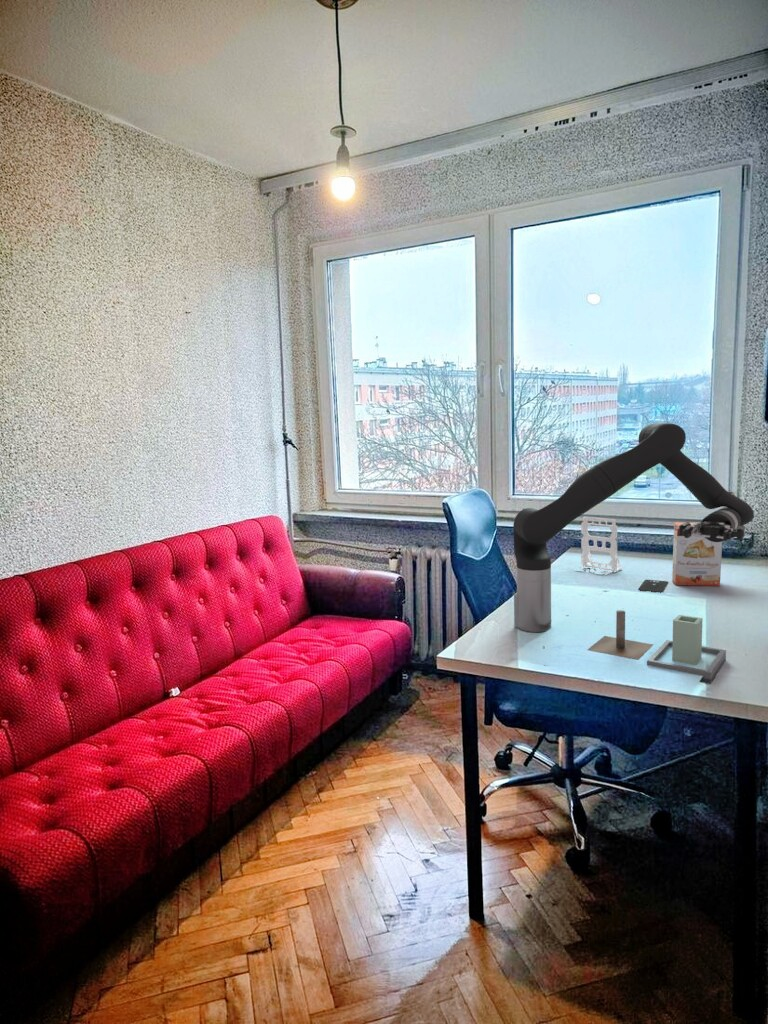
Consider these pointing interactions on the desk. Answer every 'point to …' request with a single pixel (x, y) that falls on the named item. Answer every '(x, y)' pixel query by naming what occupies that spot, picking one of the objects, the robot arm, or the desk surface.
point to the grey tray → (707, 674)
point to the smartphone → (653, 585)
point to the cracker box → (695, 560)
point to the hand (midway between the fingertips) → (705, 535)
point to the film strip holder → (587, 548)
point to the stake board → (627, 652)
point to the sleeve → (687, 639)
